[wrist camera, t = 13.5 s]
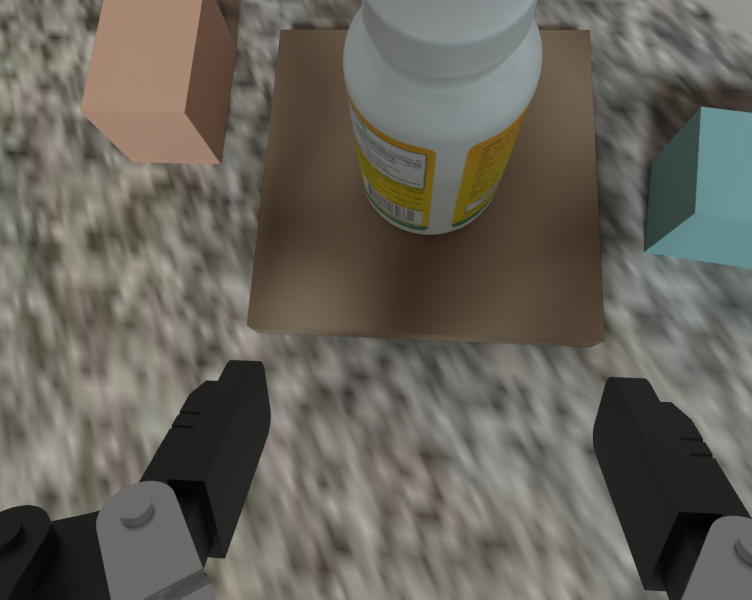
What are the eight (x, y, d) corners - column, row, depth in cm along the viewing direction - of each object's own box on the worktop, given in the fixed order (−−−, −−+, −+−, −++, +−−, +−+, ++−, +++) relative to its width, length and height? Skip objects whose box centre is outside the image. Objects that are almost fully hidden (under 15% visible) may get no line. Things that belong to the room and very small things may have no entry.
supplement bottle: (367, 245, 20) (331, 84, 11) (357, 121, 21) (318, -118, 12) (509, 231, 20) (597, 55, 11) (490, 107, 21) (554, -147, 12)
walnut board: (258, 332, 21) (246, 325, 20) (288, 53, 24) (280, 29, 23) (590, 347, 20) (604, 340, 19) (578, 55, 23) (589, 30, 22)
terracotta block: (221, 165, 23) (184, 112, 19) (134, 163, 23) (80, 111, 20) (237, 48, 25) (205, -23, 21) (155, 48, 25) (108, -22, 21)
